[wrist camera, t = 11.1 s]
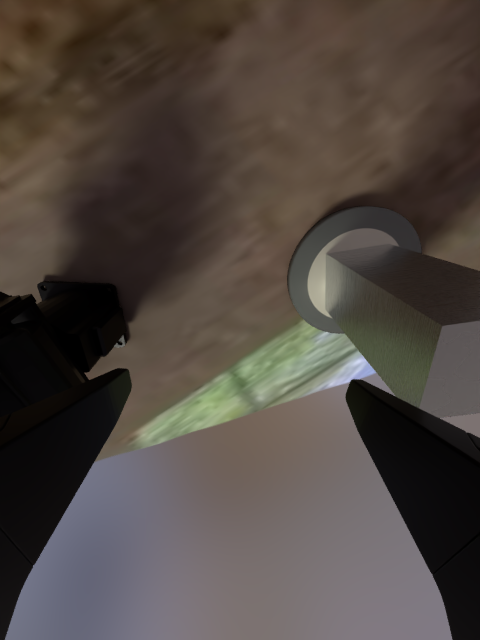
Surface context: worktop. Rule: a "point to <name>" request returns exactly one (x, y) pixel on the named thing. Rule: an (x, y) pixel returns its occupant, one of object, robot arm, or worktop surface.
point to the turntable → (335, 236)
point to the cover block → (411, 323)
